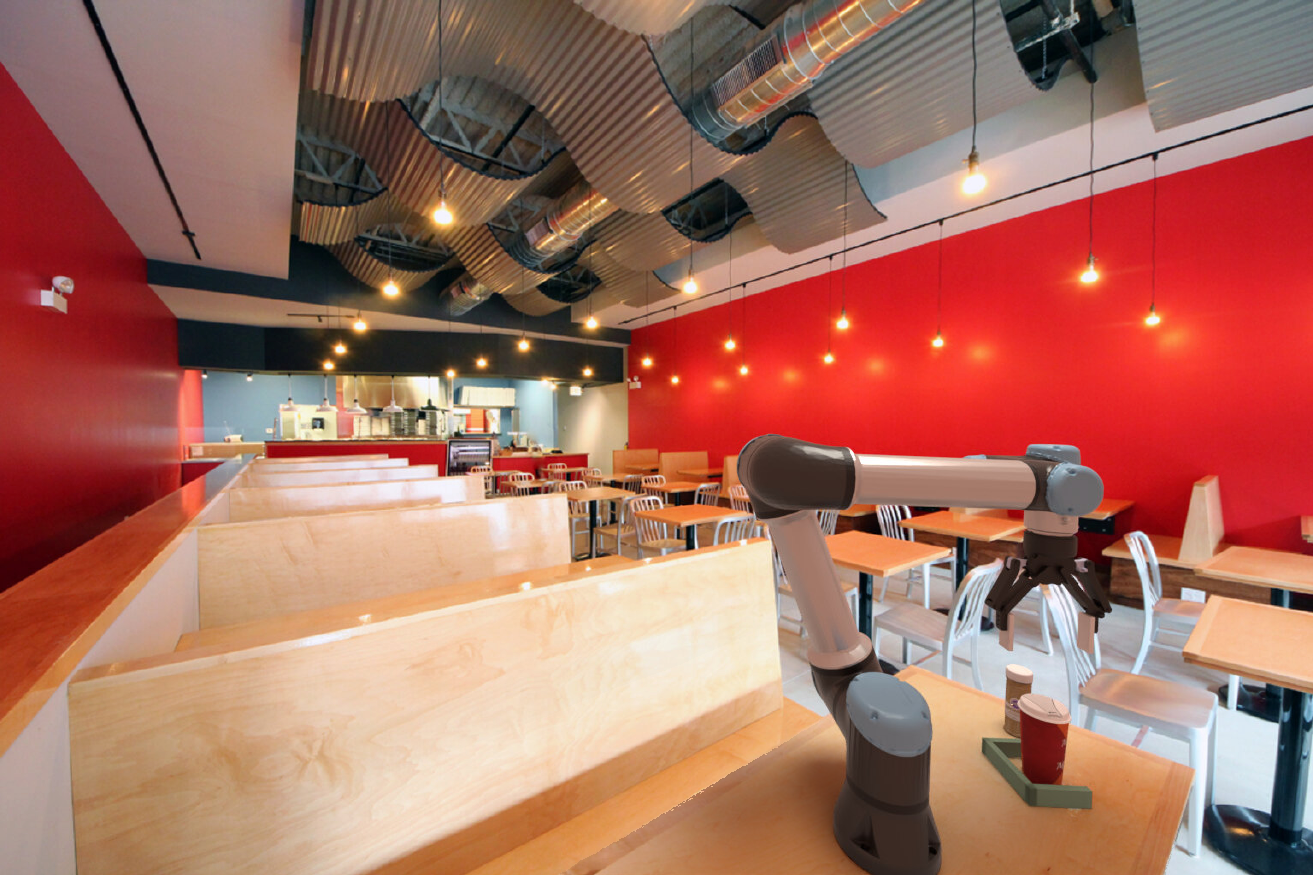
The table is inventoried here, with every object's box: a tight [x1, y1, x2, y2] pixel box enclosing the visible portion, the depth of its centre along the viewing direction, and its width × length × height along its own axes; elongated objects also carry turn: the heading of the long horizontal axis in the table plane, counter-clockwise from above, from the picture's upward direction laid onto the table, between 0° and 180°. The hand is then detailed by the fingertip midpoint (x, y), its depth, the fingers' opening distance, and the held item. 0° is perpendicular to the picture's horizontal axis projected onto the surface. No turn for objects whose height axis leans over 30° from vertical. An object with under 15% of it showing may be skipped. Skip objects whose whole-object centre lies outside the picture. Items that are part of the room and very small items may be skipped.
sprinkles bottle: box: [1003, 663, 1034, 739], centre depth 103 cm, size 5×5×14 cm
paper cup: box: [1017, 693, 1072, 785], centre depth 89 cm, size 8×8×14 cm
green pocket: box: [981, 736, 1093, 810], centre depth 90 cm, size 10×13×3 cm
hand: (1045, 649), depth 89 cm, fingers open, 13 cm apart
